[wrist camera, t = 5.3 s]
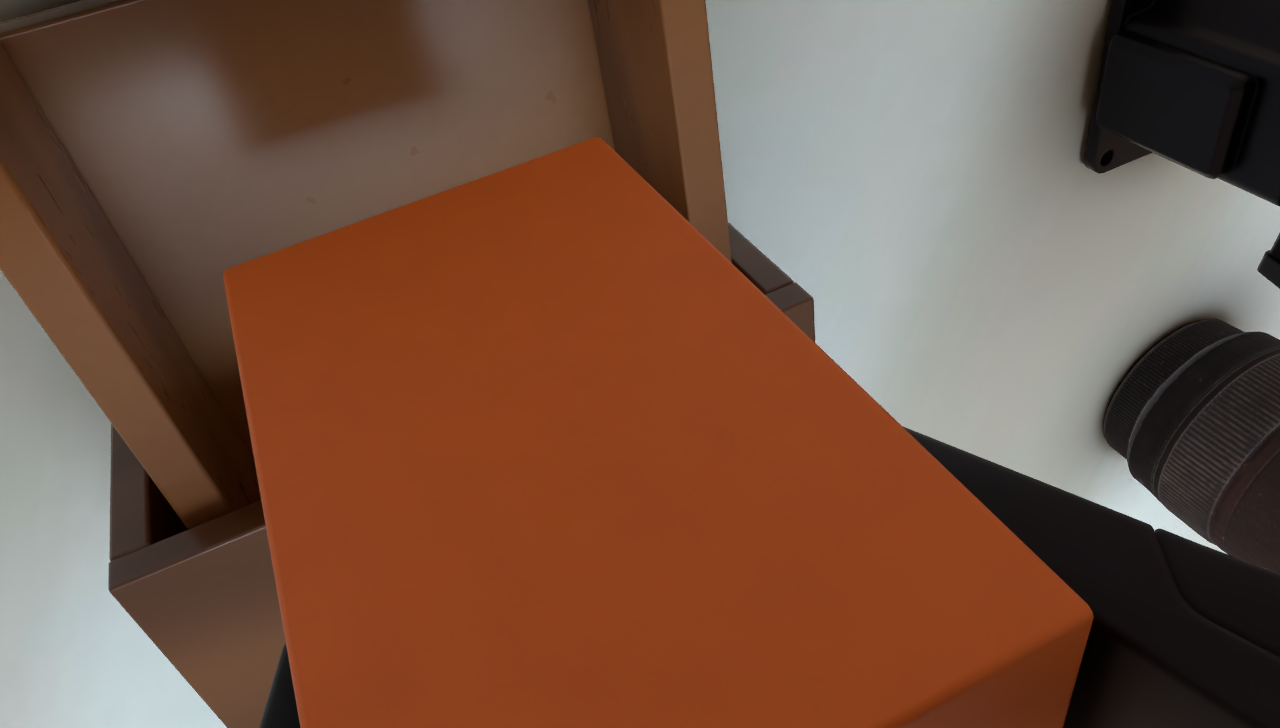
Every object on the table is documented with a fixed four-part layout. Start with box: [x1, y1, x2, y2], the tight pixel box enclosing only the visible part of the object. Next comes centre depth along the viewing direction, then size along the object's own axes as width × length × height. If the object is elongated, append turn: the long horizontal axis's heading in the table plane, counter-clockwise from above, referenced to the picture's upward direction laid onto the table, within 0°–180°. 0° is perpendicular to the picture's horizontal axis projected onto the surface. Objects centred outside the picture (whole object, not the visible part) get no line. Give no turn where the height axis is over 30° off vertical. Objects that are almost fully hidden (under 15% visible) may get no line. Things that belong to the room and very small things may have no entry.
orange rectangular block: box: [223, 137, 1094, 728], centre depth 10 cm, size 5×4×8 cm
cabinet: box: [109, 223, 815, 728], centre depth 24 cm, size 15×13×6 cm
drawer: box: [0, 0, 732, 529], centre depth 16 cm, size 19×12×5 cm, turn 8°
